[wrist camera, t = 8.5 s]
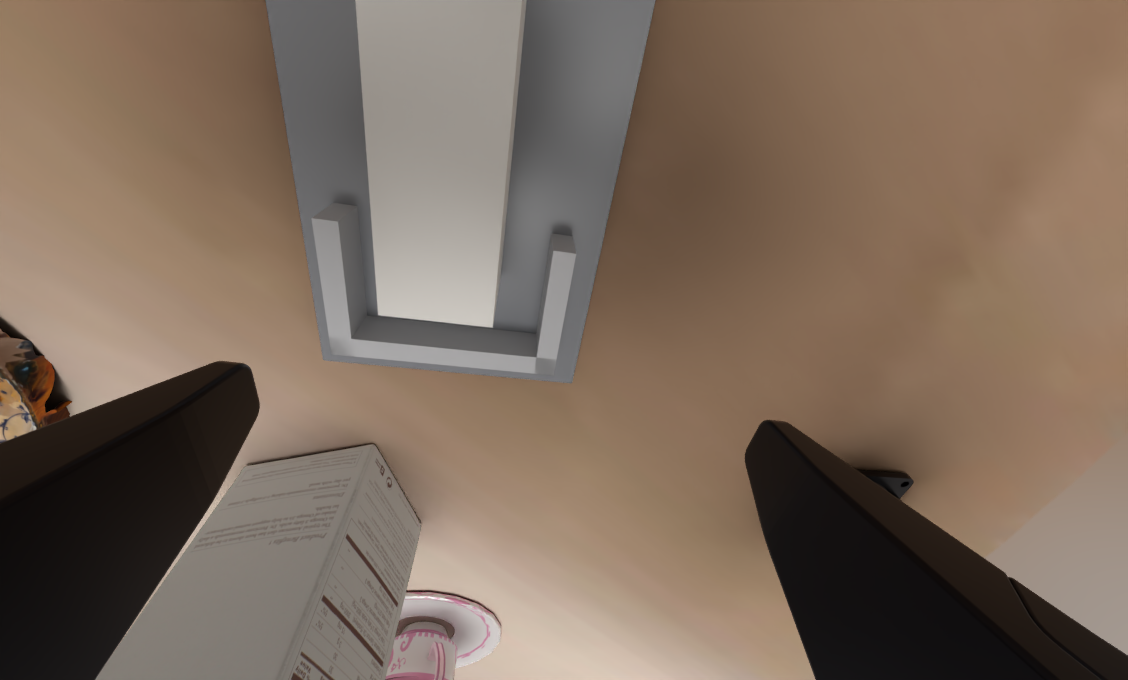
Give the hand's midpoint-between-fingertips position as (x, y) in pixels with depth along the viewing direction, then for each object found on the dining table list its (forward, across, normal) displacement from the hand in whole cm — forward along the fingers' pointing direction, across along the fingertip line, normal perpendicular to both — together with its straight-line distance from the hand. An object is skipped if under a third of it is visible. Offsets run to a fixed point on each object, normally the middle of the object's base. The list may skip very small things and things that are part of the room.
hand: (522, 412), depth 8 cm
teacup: (+11, +4, +33) cm, 35 cm away
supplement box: (+11, +9, +17) cm, 22 cm away
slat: (+10, +3, -4) cm, 11 cm away
